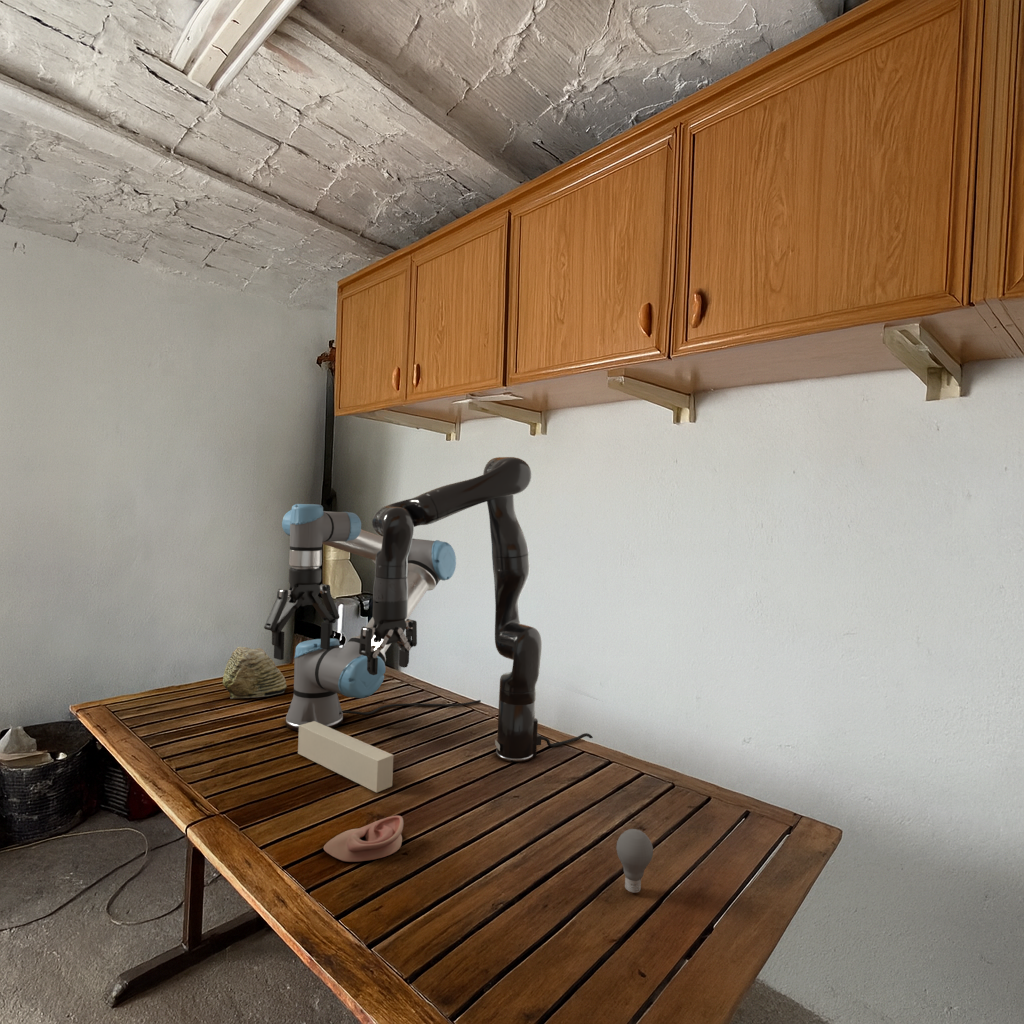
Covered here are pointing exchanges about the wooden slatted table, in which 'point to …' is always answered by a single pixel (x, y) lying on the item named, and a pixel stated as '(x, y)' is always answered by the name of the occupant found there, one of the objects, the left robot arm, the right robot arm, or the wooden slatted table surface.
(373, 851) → the anatomical model
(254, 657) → the fossil
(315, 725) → the beam
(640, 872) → the light bulb
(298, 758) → the wooden slatted table surface
